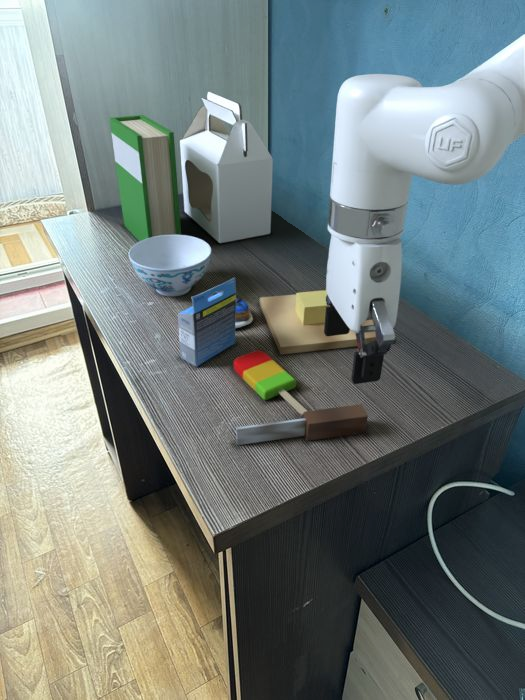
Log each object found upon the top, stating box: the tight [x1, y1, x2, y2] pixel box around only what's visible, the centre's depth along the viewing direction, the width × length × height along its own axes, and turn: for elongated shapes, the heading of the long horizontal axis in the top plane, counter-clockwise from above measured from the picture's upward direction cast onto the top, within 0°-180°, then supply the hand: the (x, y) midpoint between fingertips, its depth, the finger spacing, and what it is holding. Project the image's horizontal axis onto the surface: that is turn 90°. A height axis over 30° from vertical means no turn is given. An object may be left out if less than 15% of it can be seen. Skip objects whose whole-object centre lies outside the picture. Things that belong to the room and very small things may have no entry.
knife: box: [235, 403, 369, 446], centre depth 67 cm, size 17×2×3 cm, turn 102°
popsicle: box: [233, 350, 308, 416], centre depth 75 cm, size 6×15×2 cm, turn 34°
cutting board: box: [259, 293, 376, 356], centre depth 90 cm, size 18×16×2 cm
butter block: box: [295, 289, 330, 325], centre depth 88 cm, size 7×5×4 cm
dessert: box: [235, 297, 254, 329], centre depth 90 cm, size 8×7×6 cm
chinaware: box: [128, 234, 212, 297], centre depth 97 cm, size 15×15×8 cm
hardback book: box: [108, 114, 182, 242], centre depth 113 cm, size 18×7×24 cm, turn 30°
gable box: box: [179, 91, 274, 244], centre depth 119 cm, size 22×13×28 cm, turn 28°
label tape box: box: [177, 277, 237, 368], centre depth 79 cm, size 9×4×12 cm, turn 139°
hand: (350, 356), depth 61 cm, fingers open, 9 cm apart
